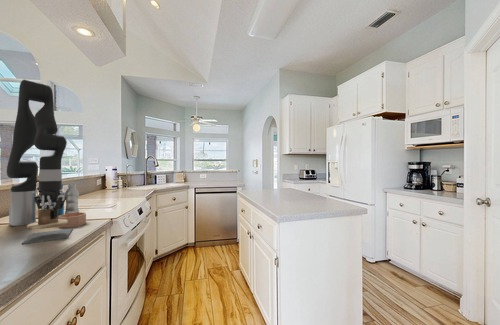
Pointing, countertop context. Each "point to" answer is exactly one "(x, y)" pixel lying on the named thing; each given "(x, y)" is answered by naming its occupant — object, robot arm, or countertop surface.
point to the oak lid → (46, 220)
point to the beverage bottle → (61, 211)
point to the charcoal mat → (48, 236)
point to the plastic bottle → (72, 199)
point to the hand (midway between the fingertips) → (50, 218)
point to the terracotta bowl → (73, 219)
